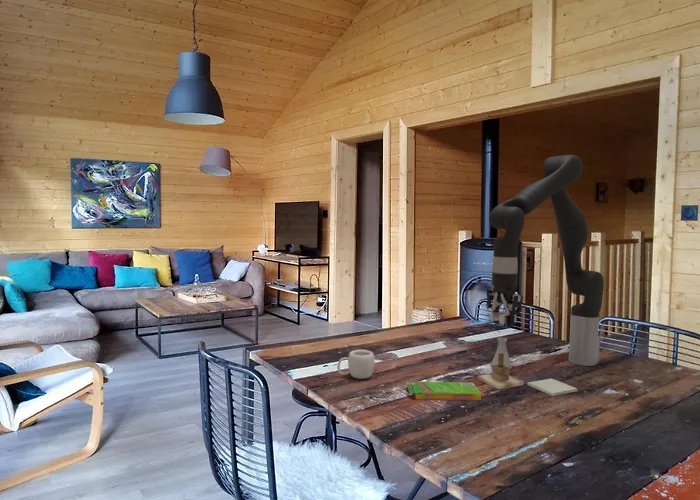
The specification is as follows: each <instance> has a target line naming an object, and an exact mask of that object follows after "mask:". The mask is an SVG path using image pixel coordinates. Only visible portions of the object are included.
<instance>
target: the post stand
mask: <svg viewBox="0 0 700 500" xmlns="http://www.w3.org/2000/svg"><path fill="white" fill-rule="evenodd" d="M503 364H504V354H503V353H499V356H498V365H492V366H491V373H487V374H482V375H481V374H480V375H477V376H476V379H477V380H478V381H480V382H482V383H485V384H487V385H489V386H491V387H493V388H495V389H496V390H497V389H498V390H502V389H508V388H509V389H510V388H513V387H519V386H525V385H524V384H525V381H523V380H521V379H518V378H516V377H514V376H512V375H510V369H509V367H507V366H505V365H503Z"/></svg>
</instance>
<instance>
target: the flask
mask: <svg viewBox="0 0 700 500" xmlns="http://www.w3.org/2000/svg"><path fill="white" fill-rule="evenodd" d="M507 341H508V338H506V337H498V338H497V348H496V352H495V354H494V356H493V359H492V362H491V363H490V366H491V367H492V365H498V356H499V353H503V354H504V364H503V365H505V366H507V367H509V370H512V368H513V365H512V361H511V359H510V356H509V353H508V348H507Z"/></svg>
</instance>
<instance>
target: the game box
mask: <svg viewBox="0 0 700 500" xmlns="http://www.w3.org/2000/svg"><path fill="white" fill-rule="evenodd" d="M406 387H407V388H408V389H407V390H408V393H409V394H413V395H414V398H415V400H437V401H438V400H439V401H440V400H441V401H442V400H445V401H446V400H447V401H453V400H454V401H481V400H482V393H481V391H480V390H479V389H478V388H477V386H476V385H475V384H474V383H473V382H462V381H461V382H454V381H453V382H452V381H451V382H450V381H407V382H406Z"/></svg>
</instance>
